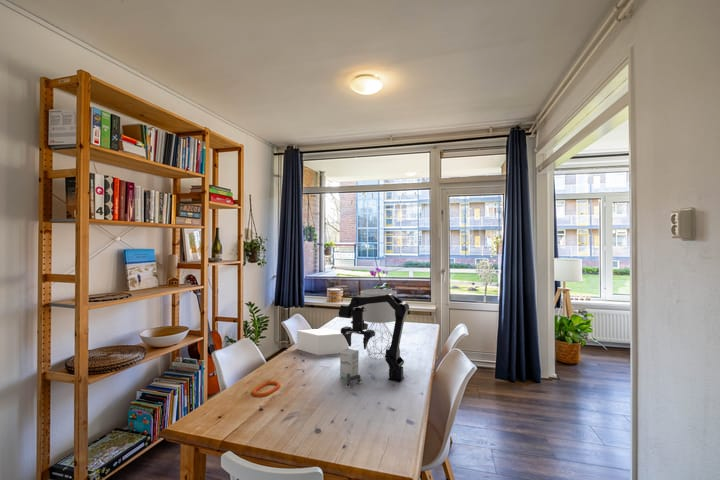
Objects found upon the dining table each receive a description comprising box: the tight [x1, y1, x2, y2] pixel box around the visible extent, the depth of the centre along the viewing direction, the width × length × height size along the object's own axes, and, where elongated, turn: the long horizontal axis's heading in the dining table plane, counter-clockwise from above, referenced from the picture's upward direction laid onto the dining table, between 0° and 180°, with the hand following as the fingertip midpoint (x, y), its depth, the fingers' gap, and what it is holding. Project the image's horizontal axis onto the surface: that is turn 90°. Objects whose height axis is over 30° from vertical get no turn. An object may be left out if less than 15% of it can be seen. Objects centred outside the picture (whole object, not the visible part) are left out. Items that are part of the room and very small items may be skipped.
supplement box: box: [339, 348, 360, 377], centre depth 170 cm, size 7×7×13 cm
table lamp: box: [360, 288, 398, 360], centre depth 201 cm, size 22×22×40 cm
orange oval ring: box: [251, 380, 281, 398], centre depth 154 cm, size 10×2×15 cm
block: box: [296, 327, 350, 356], centre depth 211 cm, size 18×35×12 cm, turn 80°
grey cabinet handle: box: [345, 373, 362, 389], centre depth 160 cm, size 8×9×4 cm
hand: (357, 347), depth 176 cm, fingers open, 9 cm apart
